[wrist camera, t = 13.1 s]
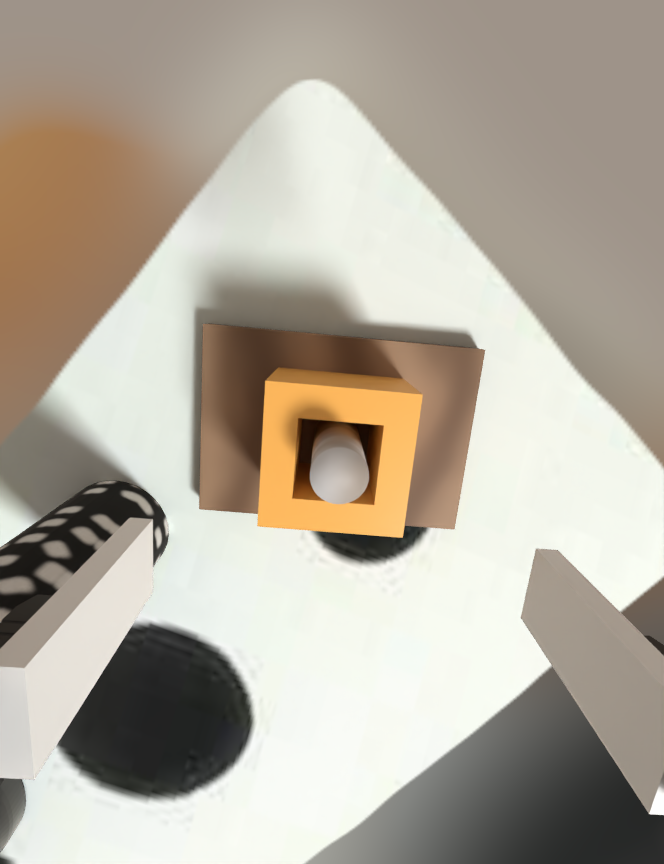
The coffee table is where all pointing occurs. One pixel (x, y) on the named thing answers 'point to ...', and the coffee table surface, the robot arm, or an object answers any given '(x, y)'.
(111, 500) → the white-spotted black cylinder
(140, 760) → the coffee table surface
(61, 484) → the coffee table surface
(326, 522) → the collar
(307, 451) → the post board
